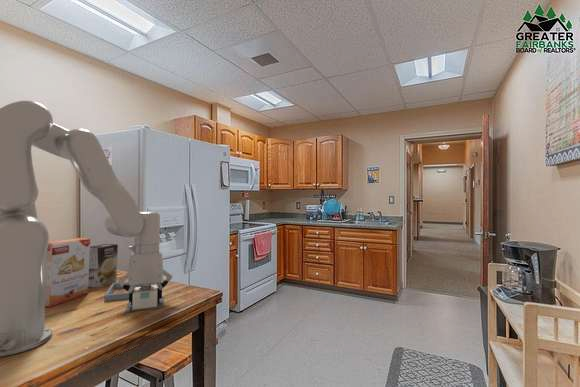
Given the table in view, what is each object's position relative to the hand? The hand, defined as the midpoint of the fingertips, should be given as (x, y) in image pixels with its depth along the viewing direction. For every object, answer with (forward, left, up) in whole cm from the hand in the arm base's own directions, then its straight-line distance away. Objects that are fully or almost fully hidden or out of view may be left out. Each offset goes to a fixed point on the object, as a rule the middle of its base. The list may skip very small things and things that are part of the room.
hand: (145, 301), depth 92 cm
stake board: (0, 0, -2) cm, 2 cm away
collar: (0, 0, -1) cm, 1 cm away
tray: (+15, +6, -2) cm, 16 cm away
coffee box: (+34, +19, -2) cm, 39 cm away
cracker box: (+18, +27, -2) cm, 33 cm away
